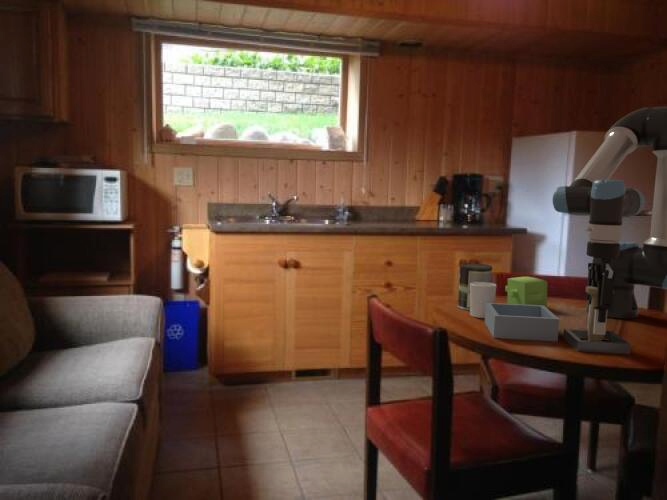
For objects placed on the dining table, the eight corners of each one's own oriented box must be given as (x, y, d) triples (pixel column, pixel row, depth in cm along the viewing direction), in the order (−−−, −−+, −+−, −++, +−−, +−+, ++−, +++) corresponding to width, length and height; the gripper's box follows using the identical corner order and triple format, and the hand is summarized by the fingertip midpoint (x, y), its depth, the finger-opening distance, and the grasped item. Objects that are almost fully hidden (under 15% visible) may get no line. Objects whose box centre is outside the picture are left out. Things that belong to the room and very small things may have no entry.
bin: (542, 325, 165) (543, 305, 164) (557, 341, 148) (559, 319, 148) (484, 322, 167) (485, 302, 166) (493, 337, 150) (494, 315, 150)
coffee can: (451, 307, 185) (454, 265, 184) (466, 302, 193) (468, 262, 192) (481, 313, 179) (483, 269, 177) (494, 307, 187) (497, 265, 185)
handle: (610, 349, 142) (615, 290, 141) (582, 346, 144) (587, 288, 142) (606, 344, 147) (611, 287, 145) (580, 341, 149) (584, 285, 147)
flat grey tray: (611, 340, 151) (612, 331, 151) (629, 354, 139) (630, 344, 139) (563, 337, 152) (563, 328, 152) (577, 351, 140) (578, 341, 140)
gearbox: (495, 302, 198) (496, 275, 197) (520, 300, 201) (521, 273, 200) (525, 313, 181) (526, 284, 180) (552, 310, 184) (552, 281, 183)
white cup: (491, 313, 179) (493, 282, 177) (496, 319, 171) (498, 286, 170) (466, 312, 179) (468, 281, 178) (470, 318, 172) (471, 285, 170)
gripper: (577, 237, 151) (571, 322, 154) (599, 244, 134) (591, 340, 137) (607, 238, 150) (600, 324, 153) (633, 245, 134) (624, 341, 136)
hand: (596, 331), depth 145 cm, fingers closed on handle, 4 cm apart
